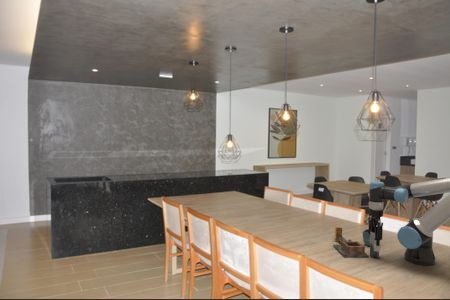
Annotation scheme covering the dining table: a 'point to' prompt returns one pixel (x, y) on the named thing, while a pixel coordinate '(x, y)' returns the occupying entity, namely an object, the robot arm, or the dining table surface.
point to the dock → (351, 249)
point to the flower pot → (366, 237)
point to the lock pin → (339, 234)
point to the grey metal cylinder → (373, 253)
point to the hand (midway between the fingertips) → (374, 249)
